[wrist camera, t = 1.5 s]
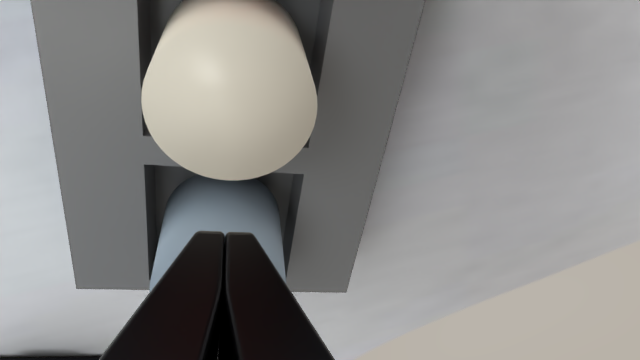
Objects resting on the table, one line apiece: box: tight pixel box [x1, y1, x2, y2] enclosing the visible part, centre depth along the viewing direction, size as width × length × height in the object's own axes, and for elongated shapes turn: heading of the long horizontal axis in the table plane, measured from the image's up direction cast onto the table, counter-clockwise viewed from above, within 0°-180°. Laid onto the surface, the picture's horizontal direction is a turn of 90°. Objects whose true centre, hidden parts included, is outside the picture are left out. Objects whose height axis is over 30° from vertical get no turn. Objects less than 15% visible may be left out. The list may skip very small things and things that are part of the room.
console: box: [31, 0, 425, 293], centre depth 15 cm, size 18×10×3 cm, turn 171°
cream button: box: [141, 0, 317, 181], centre depth 13 cm, size 4×4×4 cm
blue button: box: [150, 174, 286, 292], centre depth 16 cm, size 4×4×4 cm
